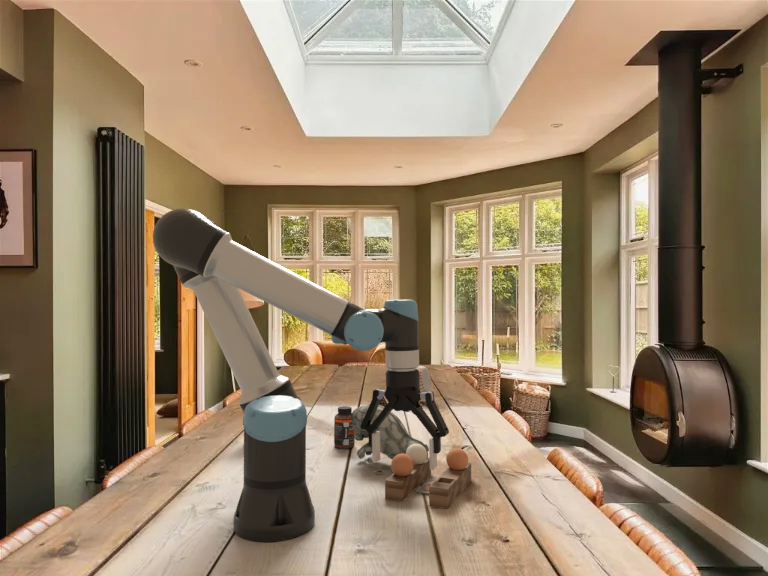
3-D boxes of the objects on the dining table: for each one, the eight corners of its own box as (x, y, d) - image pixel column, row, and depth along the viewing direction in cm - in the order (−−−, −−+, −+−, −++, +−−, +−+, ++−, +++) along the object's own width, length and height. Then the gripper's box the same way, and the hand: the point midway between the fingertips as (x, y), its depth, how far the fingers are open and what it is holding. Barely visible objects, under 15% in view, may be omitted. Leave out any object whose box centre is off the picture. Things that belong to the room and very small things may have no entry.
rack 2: (447, 509, 111) (447, 489, 111) (429, 506, 113) (429, 486, 113) (471, 480, 128) (471, 463, 129) (454, 477, 130) (454, 461, 130)
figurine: (349, 479, 138) (414, 468, 128) (343, 405, 145) (405, 390, 135) (372, 478, 145) (436, 468, 135) (366, 408, 152) (426, 394, 142)
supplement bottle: (351, 449, 154) (351, 409, 154) (331, 448, 155) (331, 408, 155) (357, 444, 160) (357, 405, 160) (337, 443, 161) (337, 404, 161)
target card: (434, 495, 119) (434, 493, 119) (415, 492, 120) (415, 490, 120) (444, 485, 125) (444, 483, 125) (426, 482, 127) (426, 480, 127)
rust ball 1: (408, 481, 117) (408, 458, 117) (387, 478, 119) (387, 455, 119) (416, 474, 122) (416, 452, 122) (396, 471, 124) (396, 449, 124)
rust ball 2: (465, 475, 121) (464, 452, 122) (443, 472, 123) (443, 450, 124) (470, 468, 126) (470, 447, 126) (449, 465, 128) (449, 444, 128)
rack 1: (402, 501, 115) (402, 482, 115) (385, 498, 117) (385, 480, 117) (431, 474, 133) (431, 458, 133) (415, 472, 134) (415, 456, 134)
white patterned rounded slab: (408, 397, 233) (408, 362, 234) (420, 396, 234) (420, 362, 235) (421, 407, 213) (421, 368, 213) (435, 406, 214) (435, 368, 214)
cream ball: (422, 469, 125) (422, 447, 126) (402, 466, 127) (402, 445, 128) (429, 463, 130) (429, 442, 130) (410, 460, 132) (410, 440, 132)
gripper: (461, 368, 119) (463, 465, 119) (359, 364, 129) (361, 454, 129) (451, 373, 112) (453, 476, 112) (344, 368, 122) (346, 463, 122)
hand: (404, 464), depth 121 cm, fingers open, 13 cm apart
